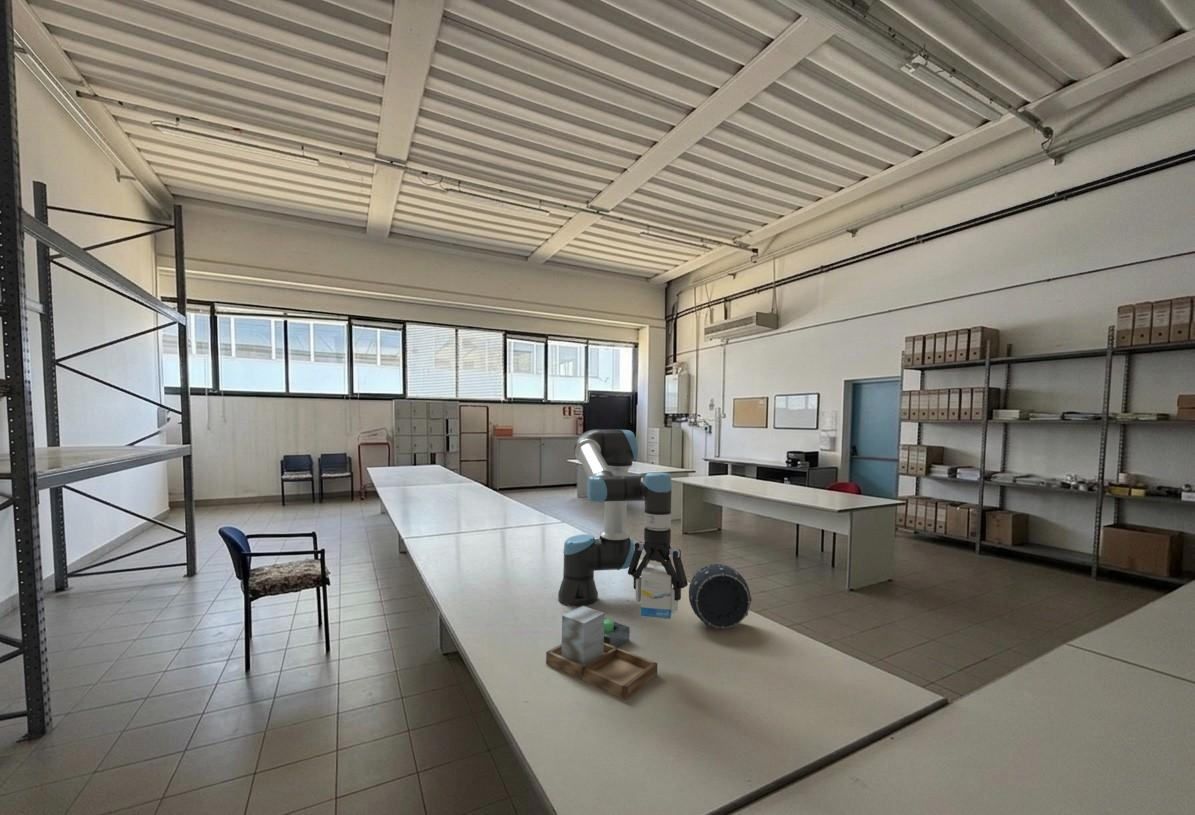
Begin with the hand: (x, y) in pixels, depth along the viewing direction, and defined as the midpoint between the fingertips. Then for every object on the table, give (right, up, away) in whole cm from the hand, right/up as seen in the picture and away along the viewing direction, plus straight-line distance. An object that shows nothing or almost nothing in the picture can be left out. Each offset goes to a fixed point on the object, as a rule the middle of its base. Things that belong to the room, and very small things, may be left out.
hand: (656, 606), depth 132 cm
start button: (-14, -15, +12) cm, 24 cm away
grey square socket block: (-14, -16, +12) cm, 25 cm away
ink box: (0, -2, 0) cm, 2 cm away
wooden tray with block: (-16, -16, -4) cm, 22 cm away
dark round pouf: (+24, -17, +25) cm, 39 cm away
